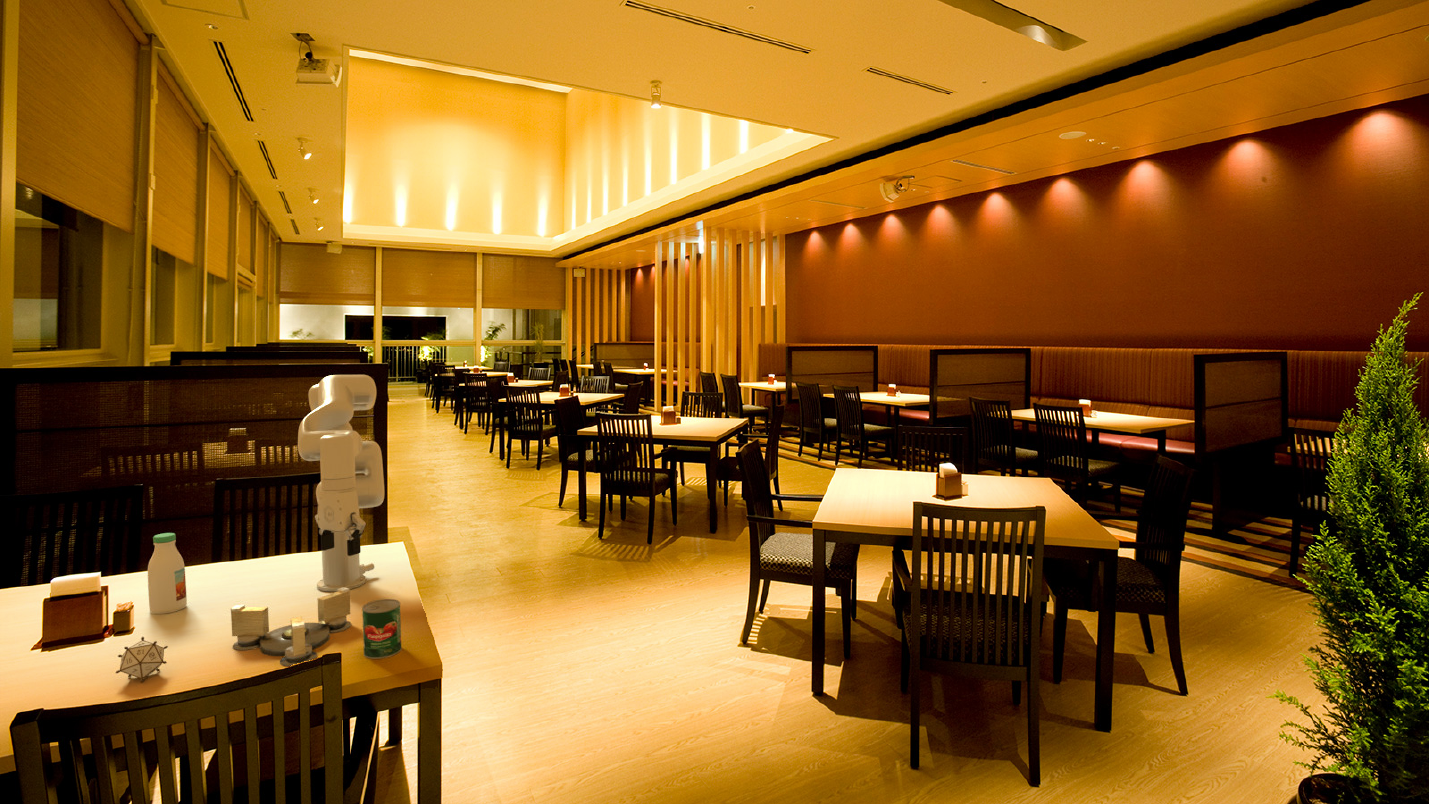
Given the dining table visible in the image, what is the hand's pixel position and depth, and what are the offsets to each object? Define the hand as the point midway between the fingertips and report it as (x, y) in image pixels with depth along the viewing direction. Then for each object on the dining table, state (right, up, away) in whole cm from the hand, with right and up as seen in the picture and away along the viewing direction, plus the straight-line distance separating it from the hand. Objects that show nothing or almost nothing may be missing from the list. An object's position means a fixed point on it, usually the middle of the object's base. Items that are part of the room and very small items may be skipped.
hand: (340, 551), depth 173 cm
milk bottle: (-50, -17, +10) cm, 54 cm away
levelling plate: (-4, -19, -7) cm, 21 cm away
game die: (-27, -21, -27) cm, 43 cm away
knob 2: (0, -20, -18) cm, 27 cm away
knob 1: (-15, -19, -10) cm, 27 cm away
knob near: (-1, -19, -1) cm, 19 cm away
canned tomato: (+17, -20, -14) cm, 30 cm away
